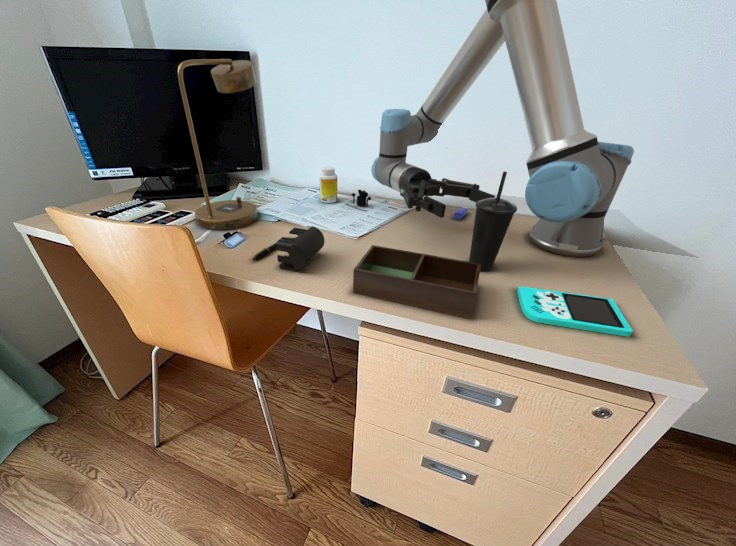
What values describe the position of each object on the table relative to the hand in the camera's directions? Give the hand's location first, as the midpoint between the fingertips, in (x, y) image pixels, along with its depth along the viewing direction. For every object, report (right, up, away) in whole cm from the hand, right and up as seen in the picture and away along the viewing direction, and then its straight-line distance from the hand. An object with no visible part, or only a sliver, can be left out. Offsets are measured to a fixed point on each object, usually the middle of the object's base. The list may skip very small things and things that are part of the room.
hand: (468, 206), depth 74 cm
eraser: (+7, +4, +26) cm, 27 cm away
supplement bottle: (-31, +12, +38) cm, 50 cm away
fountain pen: (-44, -8, +9) cm, 46 cm away
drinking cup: (+3, -13, +1) cm, 13 cm away
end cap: (-36, -12, +4) cm, 38 cm away
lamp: (-58, +6, +29) cm, 65 cm away
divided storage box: (-13, -18, -6) cm, 23 cm away
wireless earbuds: (-20, +9, +34) cm, 40 cm away
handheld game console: (+13, -22, -13) cm, 29 cm away
